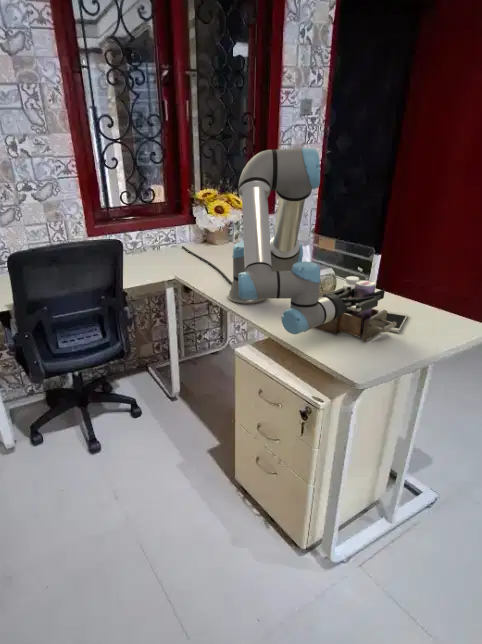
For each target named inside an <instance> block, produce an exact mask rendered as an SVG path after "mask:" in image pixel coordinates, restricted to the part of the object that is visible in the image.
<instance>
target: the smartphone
mask: <svg viewBox="0 0 482 644" xmlns="http://www.w3.org/2000/svg"><path fill="white" fill-rule="evenodd" d="M386 311H387V316H386V321H389V322H396V323H397V325H396V326H394V327H393V328H391V329H389V330H388V332H393V333H400V331H401V329H402V327H403V325H404V324H405V321H406V320H407V318H408V314H409V313H402V312H396V311H391V310H386ZM387 325H389V324H388V323H385V326H387Z"/></svg>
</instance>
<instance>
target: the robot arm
mask: <svg viewBox="0 0 482 644" xmlns="http://www.w3.org/2000/svg"><path fill="white" fill-rule="evenodd" d="M320 184H321V163H320V156H319V152H318V150H317V149H316V148H314V147H301V148H281V149H266V150H262V151H260V152H258V153H256V154H255V155H254V156H252V157H251V158H250V159H249V160H248V162H247V163H246V164H245V166H244V168H243V169H242V172H241V174H240V176H239V180H238V188H237V189H238V197H239V198H240V200H241V202H242V203H241V204H242V207H241V208H242V232H243V240H241V241H238V242H237V243H235V244H234V245H233V247H232V257H231V258H232V281H231V280H230V279H229V277H228V276H227V275H226V274H225V273H224V272H223V271H221V269H220V268H218V267H217V266H216V265H215V264H213V263H212V262H210V261H208V260H207V259H205V258H203V257H201V256H200V255H198V254H197V253H195V252H193V251H191V250H189V249H188V248H186V247H185V246H183V245H181V248H182V249H184V250H185V251H187V252H189V253H190V254H192V255H193V256H195V257H196V258H198V259H200V260H202V261H203V262H205V263H207V264H208V265H209V266H211V267H212V268H213V269H215V270H216V271H217V272H219V274H220V275H222V277H223V278H224V280H226V281H227V282H228V283H229V284H230V285H231V286H230V290H229V293H228V299H229V300H230V301H231V302H233V303H235V304H236V303H237V304H240V305H251V304H258V303H261V302H263V301H265V300H269V299H270V300H272V299H276V300H280V299H281V300H282V299H284V300H285V299H290V304H289V305H290V307H288V308H287V309H285V310H284V311H283V313H282V315H281V324H282V326H283V329H284V330H285V331H286V332H287V333H289V334H290V335H298V334H301V333H306V332H308V331H309V330H312V329H314V328H315V327H316V326H319V325H322V324H324V323H327V322H329V321H332V320H335V319H337V318H339V317H341V316H342V315H343V314H344V312H348V311H351V310H354V311H355V313H356V314H359V313H361V312H362V311H365V310H368V309H371V308H373V309H374V308H376V307H378V304H379V301H381V300H382V299H384V298H385V291H386V290H385V289H380V290H378V291H375V293H372V294H370V296H367V297H361V298H353V297H354V290H355V288H353V289H351V287H347V290H345V288H343V287H342V288H339V289H336V290H334V291H330V292H331V293H329V294H324V295H323V297H321V298H318V297H319V293H320V286H321V285H320V284H321V266H320V265H319V264H318V263H316V262H313V261H303V258H304V257H303V256H304V247H303V244H302V243H301V242H300V240H299V239H298V238H299V232H300V228H301V227H300V226H301V222H302V217H303V212H304V206H305V203H306V199H308V198H309V197H310V196H311V194H312V191H313V190H316V189H318V188H319V187H320ZM272 191H275V194H276V195H277V197H278V202H277V211H276V217H275V224H274V225H275V226H274V233H273V234H274V235H273V236H272V237H271V233H270V215H269V199H268V198H269V197H270V194H271V192H272ZM350 296H351V297H352V298H349V297H350Z"/></svg>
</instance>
